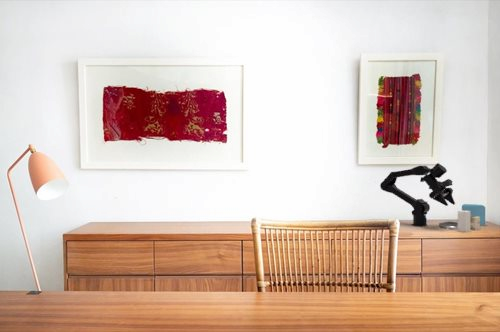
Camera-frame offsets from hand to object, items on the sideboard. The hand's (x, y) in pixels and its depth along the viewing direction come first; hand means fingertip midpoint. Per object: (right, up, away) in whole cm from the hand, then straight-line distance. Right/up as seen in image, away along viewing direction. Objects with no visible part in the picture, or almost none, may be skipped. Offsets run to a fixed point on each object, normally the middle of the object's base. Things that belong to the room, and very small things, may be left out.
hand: (451, 204), depth 238 cm
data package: (+21, -14, +16) cm, 29 cm away
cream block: (+4, -14, -6) cm, 16 cm away
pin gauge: (0, -12, +2) cm, 12 cm away
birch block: (+12, -14, 0) cm, 18 cm away
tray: (+5, -13, +7) cm, 16 cm away
